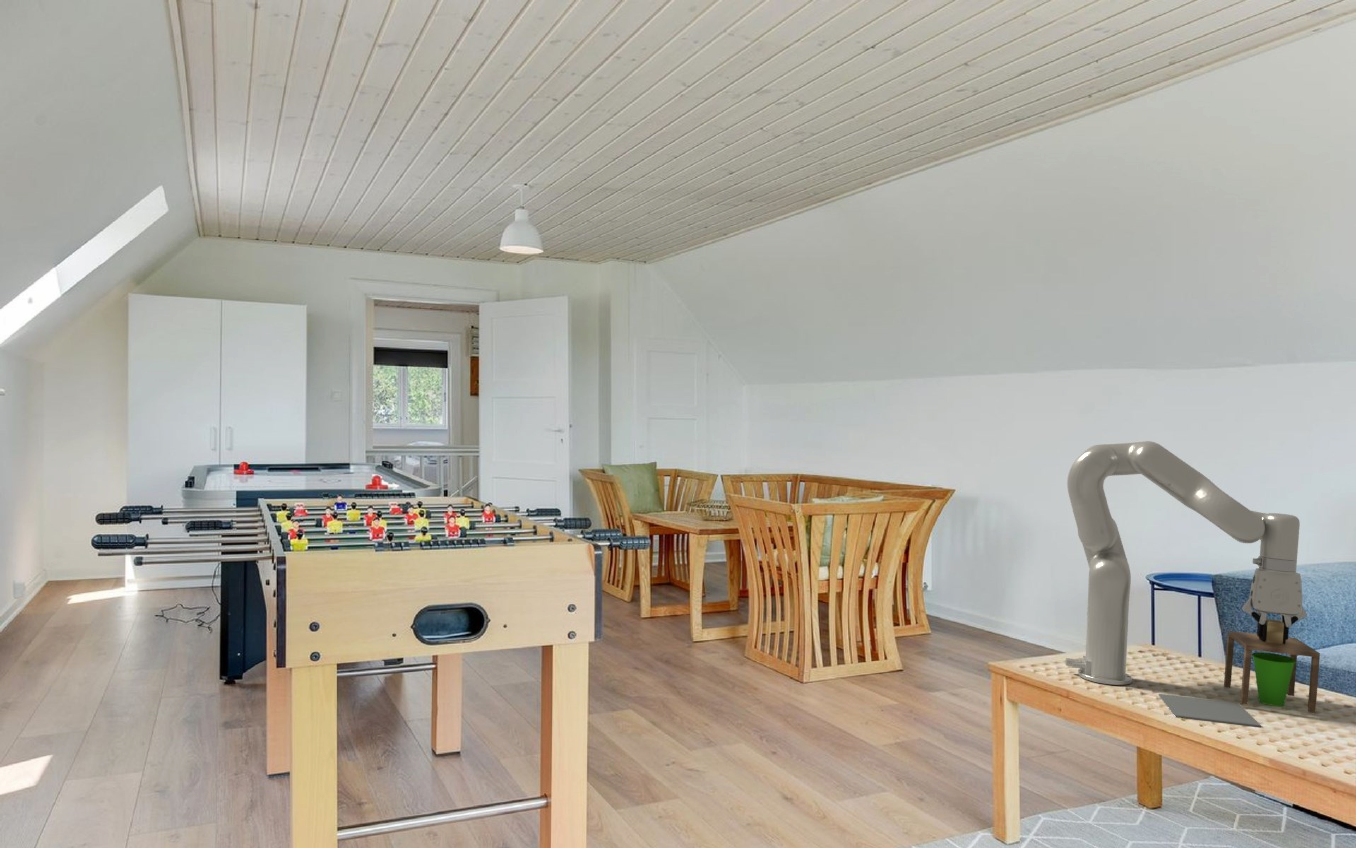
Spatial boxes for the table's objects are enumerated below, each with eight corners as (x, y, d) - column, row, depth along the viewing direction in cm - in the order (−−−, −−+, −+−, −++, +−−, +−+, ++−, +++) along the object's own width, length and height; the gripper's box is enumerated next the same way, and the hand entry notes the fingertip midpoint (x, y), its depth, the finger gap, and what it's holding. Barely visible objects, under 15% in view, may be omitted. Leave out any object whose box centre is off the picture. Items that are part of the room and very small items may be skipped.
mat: (1175, 717, 208) (1175, 715, 208) (1158, 695, 224) (1158, 693, 224) (1260, 727, 203) (1261, 725, 203) (1237, 704, 220) (1237, 702, 220)
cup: (1301, 710, 217) (1303, 664, 216) (1258, 706, 218) (1260, 660, 218) (1284, 699, 225) (1286, 654, 225) (1243, 695, 227) (1245, 650, 227)
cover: (1242, 704, 217) (1247, 623, 217) (1223, 686, 232) (1229, 610, 231) (1315, 713, 213) (1321, 631, 213) (1292, 694, 227) (1297, 618, 227)
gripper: (1243, 564, 220) (1237, 640, 221) (1323, 571, 216) (1317, 649, 216) (1234, 559, 227) (1228, 633, 228) (1311, 566, 223) (1305, 642, 223)
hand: (1272, 640), depth 222 cm, fingers closed on cover, 3 cm apart
